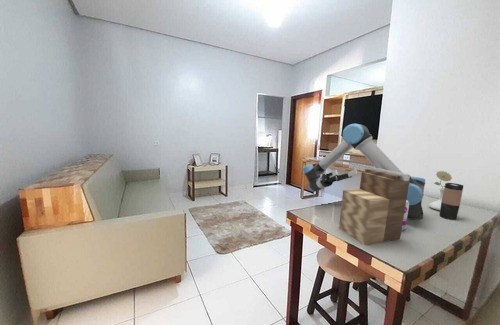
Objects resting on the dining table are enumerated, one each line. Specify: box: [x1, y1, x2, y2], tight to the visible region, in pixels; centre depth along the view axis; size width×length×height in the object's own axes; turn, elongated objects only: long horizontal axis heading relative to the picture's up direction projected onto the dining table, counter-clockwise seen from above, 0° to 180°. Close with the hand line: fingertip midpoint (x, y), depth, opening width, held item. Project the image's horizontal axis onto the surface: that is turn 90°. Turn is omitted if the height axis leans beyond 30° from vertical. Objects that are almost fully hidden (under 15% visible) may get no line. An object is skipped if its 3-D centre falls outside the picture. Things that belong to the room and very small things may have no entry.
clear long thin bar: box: [348, 162, 411, 181], centre depth 99 cm, size 30×3×2 cm, turn 19°
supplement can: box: [401, 200, 409, 232], centre depth 104 cm, size 8×8×15 cm
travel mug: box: [439, 182, 464, 221], centre depth 118 cm, size 8×8×20 cm
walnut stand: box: [338, 169, 410, 246], centre depth 96 cm, size 16×20×30 cm
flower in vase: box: [428, 170, 453, 211], centre depth 131 cm, size 13×11×25 cm
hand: (346, 171), depth 117 cm, fingers open, 13 cm apart
